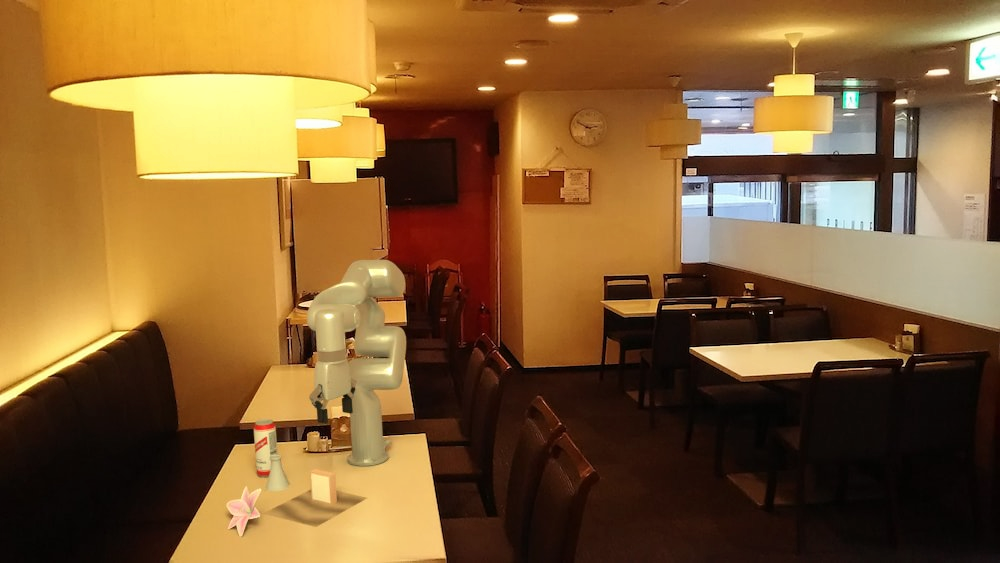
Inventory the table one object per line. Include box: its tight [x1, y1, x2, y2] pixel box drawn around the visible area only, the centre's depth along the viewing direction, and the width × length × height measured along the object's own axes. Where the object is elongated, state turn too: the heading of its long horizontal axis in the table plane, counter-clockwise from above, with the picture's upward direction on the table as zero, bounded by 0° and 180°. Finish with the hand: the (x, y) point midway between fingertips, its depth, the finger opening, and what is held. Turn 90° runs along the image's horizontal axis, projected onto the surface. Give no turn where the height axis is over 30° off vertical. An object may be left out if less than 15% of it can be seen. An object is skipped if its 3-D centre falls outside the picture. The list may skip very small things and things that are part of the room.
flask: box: [264, 454, 291, 492], centre depth 228 cm, size 7×7×10 cm
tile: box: [309, 468, 337, 505], centre depth 217 cm, size 2×7×8 cm, turn 60°
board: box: [263, 489, 368, 528], centre depth 215 cm, size 20×18×1 cm
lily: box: [225, 486, 262, 537], centre depth 206 cm, size 12×12×10 cm
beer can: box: [253, 418, 279, 478], centre depth 241 cm, size 6×6×16 cm
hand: (335, 417), depth 221 cm, fingers open, 9 cm apart
